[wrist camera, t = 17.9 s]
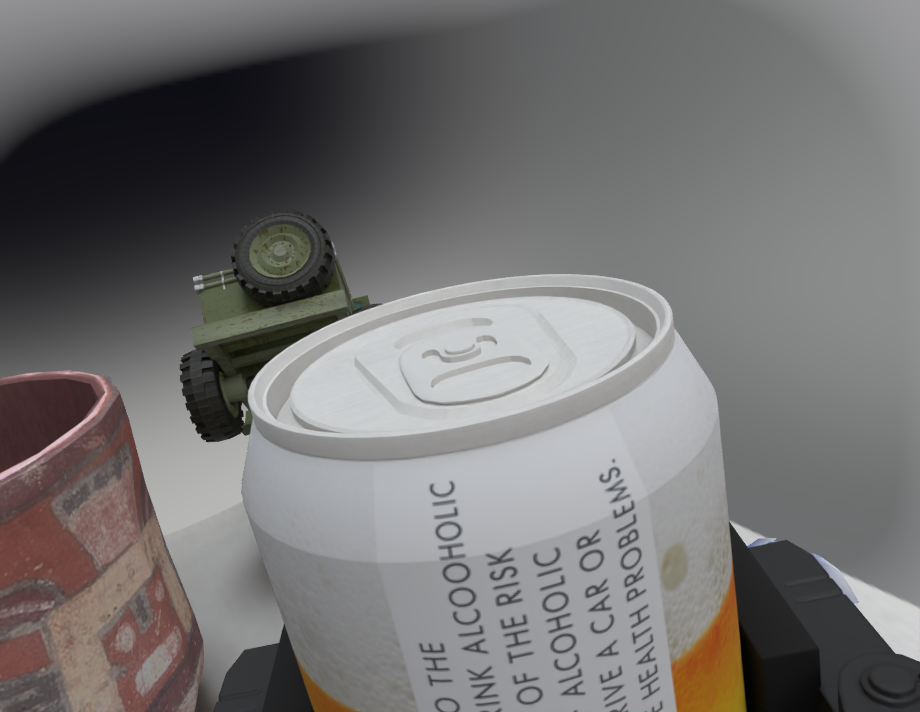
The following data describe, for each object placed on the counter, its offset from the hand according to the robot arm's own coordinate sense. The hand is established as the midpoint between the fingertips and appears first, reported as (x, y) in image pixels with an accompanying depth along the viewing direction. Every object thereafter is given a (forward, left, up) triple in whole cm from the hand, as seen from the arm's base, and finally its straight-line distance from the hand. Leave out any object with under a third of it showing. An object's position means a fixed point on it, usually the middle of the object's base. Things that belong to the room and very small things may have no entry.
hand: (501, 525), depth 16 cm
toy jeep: (+9, +32, -12) cm, 35 cm away
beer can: (-3, -4, -9) cm, 11 cm away
